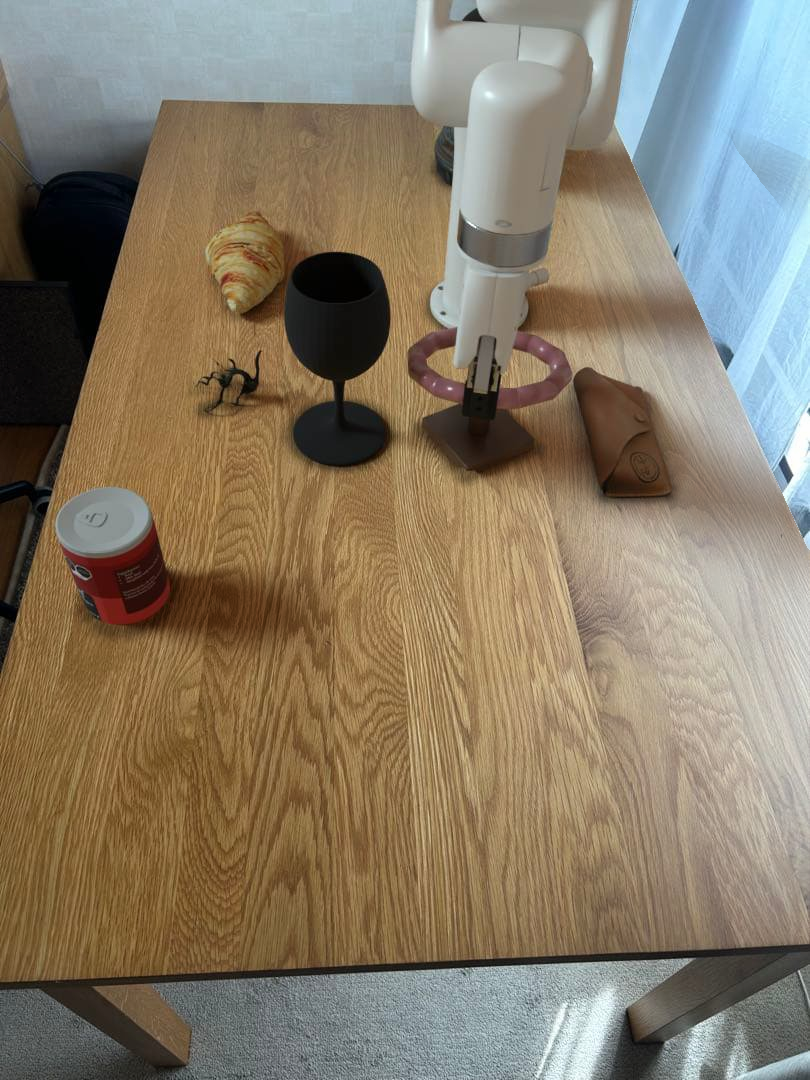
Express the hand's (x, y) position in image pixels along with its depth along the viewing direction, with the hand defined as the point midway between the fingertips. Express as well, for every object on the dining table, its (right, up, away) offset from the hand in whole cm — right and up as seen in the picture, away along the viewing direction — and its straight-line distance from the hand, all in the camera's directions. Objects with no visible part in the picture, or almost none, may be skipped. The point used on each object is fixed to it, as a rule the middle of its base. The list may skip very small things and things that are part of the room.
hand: (480, 404), depth 87 cm
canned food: (-33, -19, -3) cm, 38 cm away
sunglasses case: (+17, -2, +14) cm, 22 cm away
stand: (+1, -2, +13) cm, 14 cm away
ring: (+1, +5, +5) cm, 7 cm away
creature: (-28, +4, +17) cm, 32 cm away
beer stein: (+6, +43, +53) cm, 69 cm away
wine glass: (-14, -1, +13) cm, 20 cm away
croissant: (-28, +22, +32) cm, 48 cm away
